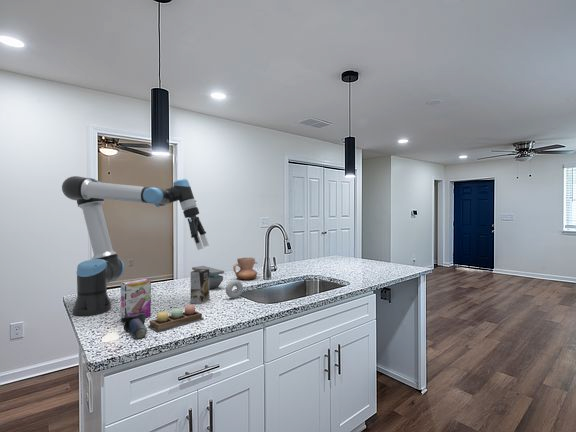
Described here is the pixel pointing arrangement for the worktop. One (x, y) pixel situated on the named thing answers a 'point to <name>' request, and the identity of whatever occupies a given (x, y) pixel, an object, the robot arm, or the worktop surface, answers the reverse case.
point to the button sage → (176, 312)
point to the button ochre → (162, 316)
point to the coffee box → (199, 286)
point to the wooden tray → (175, 321)
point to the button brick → (189, 309)
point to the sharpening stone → (212, 276)
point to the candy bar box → (136, 297)
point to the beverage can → (135, 324)
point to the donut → (238, 290)
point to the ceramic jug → (245, 268)
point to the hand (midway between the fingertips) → (203, 247)
